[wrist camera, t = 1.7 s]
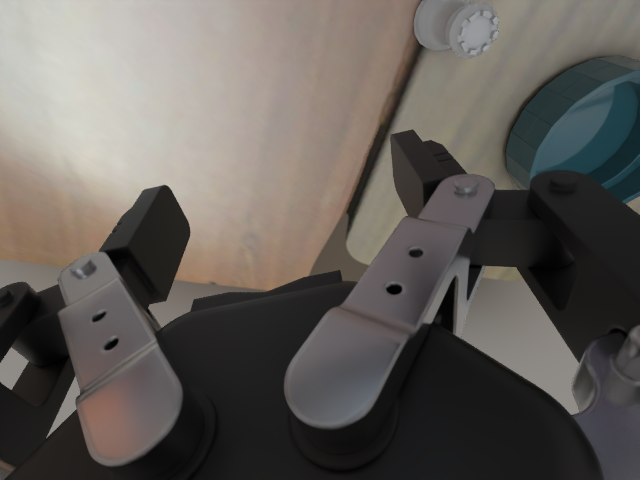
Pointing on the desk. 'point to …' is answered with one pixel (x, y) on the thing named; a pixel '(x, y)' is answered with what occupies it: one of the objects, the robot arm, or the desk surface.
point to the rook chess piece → (456, 26)
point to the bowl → (583, 127)
